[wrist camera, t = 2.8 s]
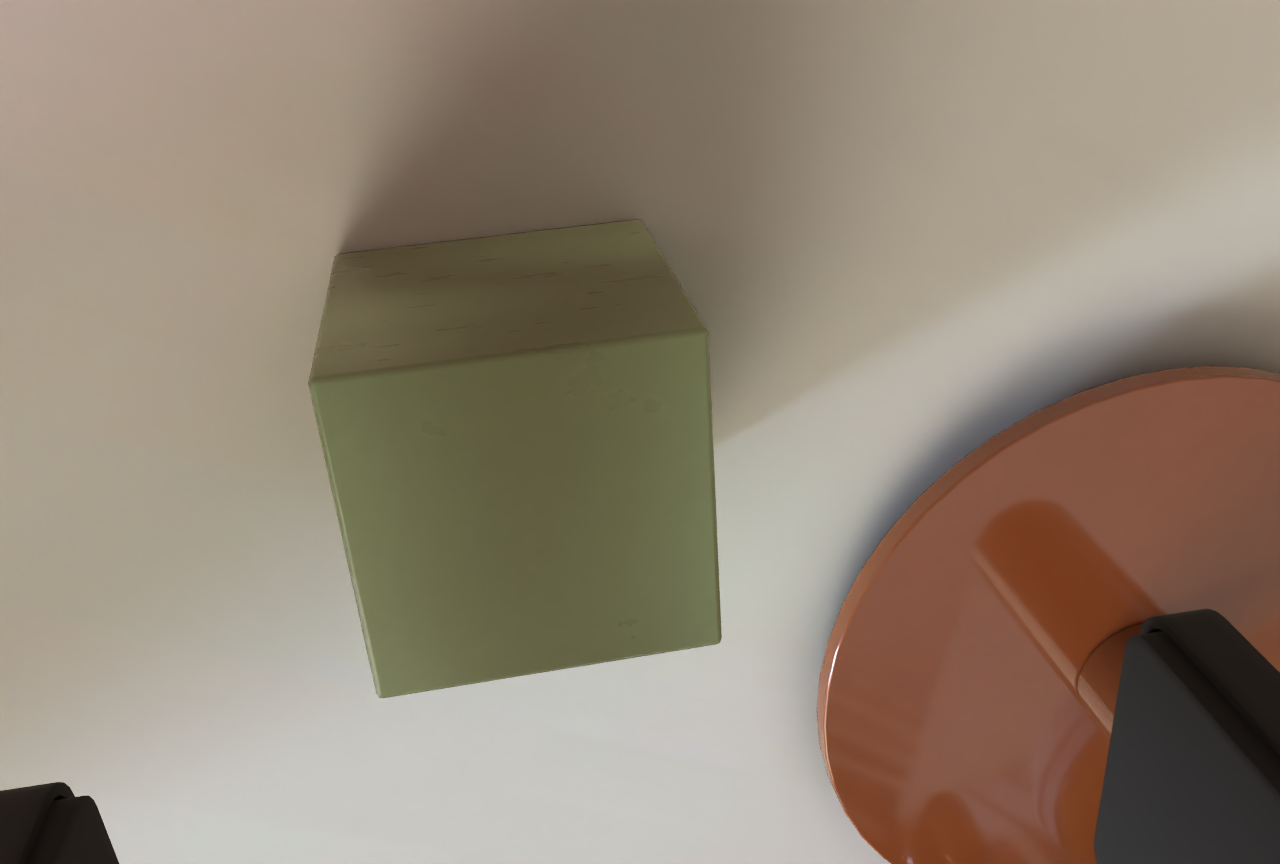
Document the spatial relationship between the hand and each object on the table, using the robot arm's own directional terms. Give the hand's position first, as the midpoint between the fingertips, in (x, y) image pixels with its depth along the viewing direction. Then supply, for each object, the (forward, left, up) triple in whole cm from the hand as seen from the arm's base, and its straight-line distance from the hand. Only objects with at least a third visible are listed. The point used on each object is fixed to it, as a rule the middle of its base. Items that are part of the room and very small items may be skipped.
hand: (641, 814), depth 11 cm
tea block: (-1, 0, -11) cm, 11 cm away
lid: (+11, -8, -10) cm, 17 cm away
